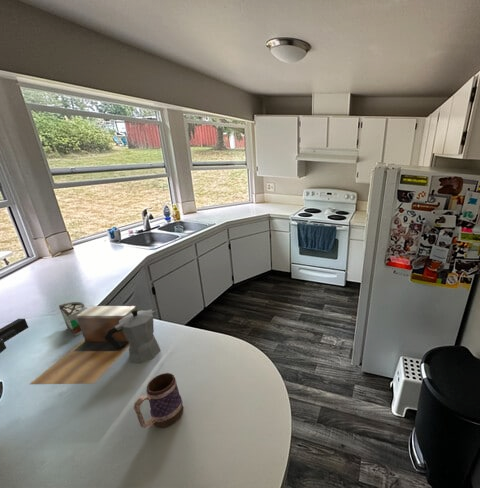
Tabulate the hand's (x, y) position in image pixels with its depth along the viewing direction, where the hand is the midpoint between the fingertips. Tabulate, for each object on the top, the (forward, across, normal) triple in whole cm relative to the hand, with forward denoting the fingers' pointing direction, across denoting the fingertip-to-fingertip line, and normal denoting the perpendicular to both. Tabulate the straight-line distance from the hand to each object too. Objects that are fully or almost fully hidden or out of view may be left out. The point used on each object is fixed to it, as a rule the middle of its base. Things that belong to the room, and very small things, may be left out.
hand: (23, 323), depth 63 cm
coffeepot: (+13, +16, -24) cm, 32 cm away
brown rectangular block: (+23, 0, -23) cm, 33 cm away
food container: (+28, -16, -24) cm, 41 cm away
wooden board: (+14, 0, -24) cm, 28 cm away
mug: (-9, +35, -24) cm, 43 cm away
